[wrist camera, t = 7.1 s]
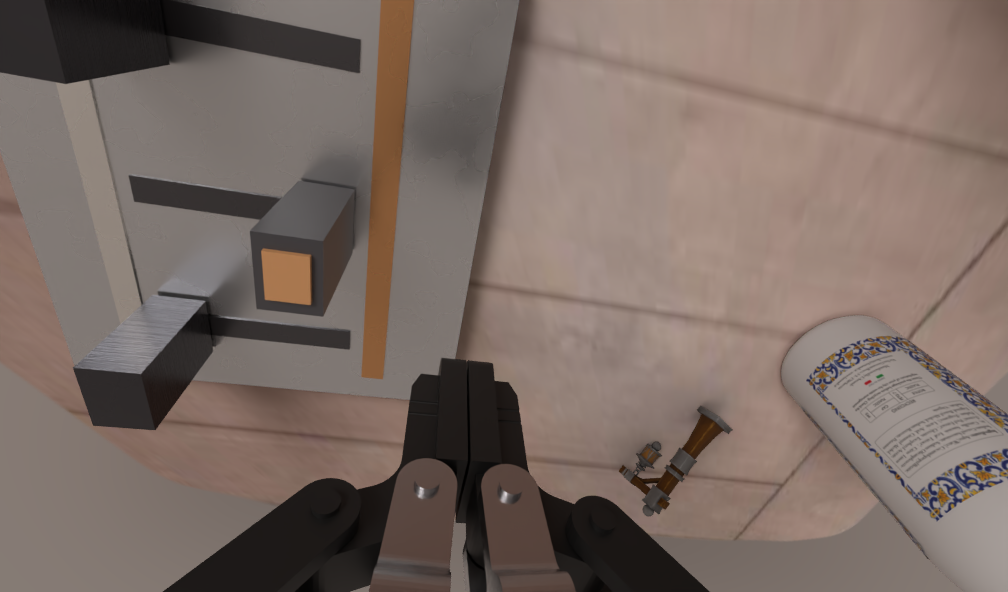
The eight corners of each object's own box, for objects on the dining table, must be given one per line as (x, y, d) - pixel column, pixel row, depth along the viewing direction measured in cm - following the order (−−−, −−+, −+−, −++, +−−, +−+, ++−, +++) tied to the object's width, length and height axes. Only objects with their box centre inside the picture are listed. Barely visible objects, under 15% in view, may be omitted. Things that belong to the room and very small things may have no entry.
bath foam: (871, 385, 32) (1333, 814, 15) (770, 403, 32) (1113, 845, 15) (899, 301, 28) (1552, 740, 11) (785, 322, 29) (1258, 783, 12)
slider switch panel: (521, -28, 18) (548, -45, 13) (447, 389, 29) (443, 484, 24) (-79, -174, 15) (-420, -289, 9) (90, 355, 26) (-17, 455, 20)
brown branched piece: (605, 476, 34) (645, 517, 30) (674, 389, 34) (722, 418, 30) (620, 487, 35) (660, 528, 30) (687, 402, 35) (735, 431, 31)
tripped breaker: (354, 189, 21) (321, 243, 16) (352, 253, 23) (322, 319, 18) (298, 180, 21) (247, 233, 16) (300, 246, 22) (254, 311, 17)
